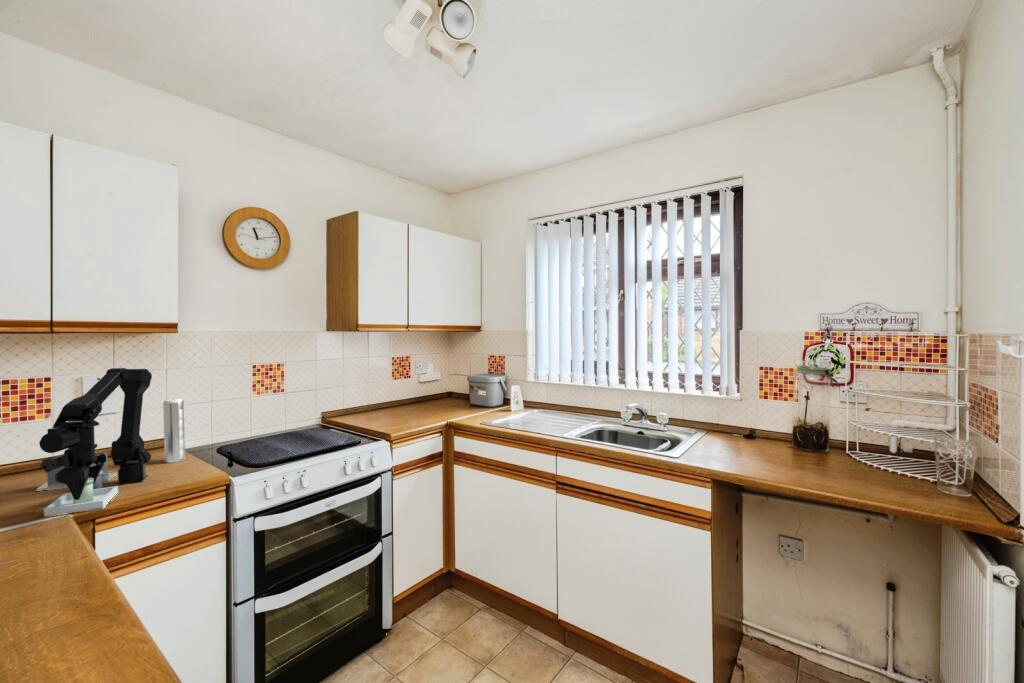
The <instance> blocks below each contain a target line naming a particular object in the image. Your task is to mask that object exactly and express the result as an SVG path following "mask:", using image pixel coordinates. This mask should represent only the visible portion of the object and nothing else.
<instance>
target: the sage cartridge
mask: <svg viewBox="0 0 1024 683" xmlns="http://www.w3.org/2000/svg"><path fill="white" fill-rule="evenodd" d="M93 482H94V478H88V480H87V482H86V485H85V487H84V490H83V492H82V495H81V497H80V499H79V500H74V498H73V504H79V503H86V502H93Z"/></svg>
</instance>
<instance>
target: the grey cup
mask: <svg viewBox="0 0 1024 683" xmlns="http://www.w3.org/2000/svg"><path fill="white" fill-rule="evenodd" d="M102 474H103V470H101V471H100V473H99V475H98V477H97V479H96V481H95V483H94V485H93V489H100V488H103V483H102Z"/></svg>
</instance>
